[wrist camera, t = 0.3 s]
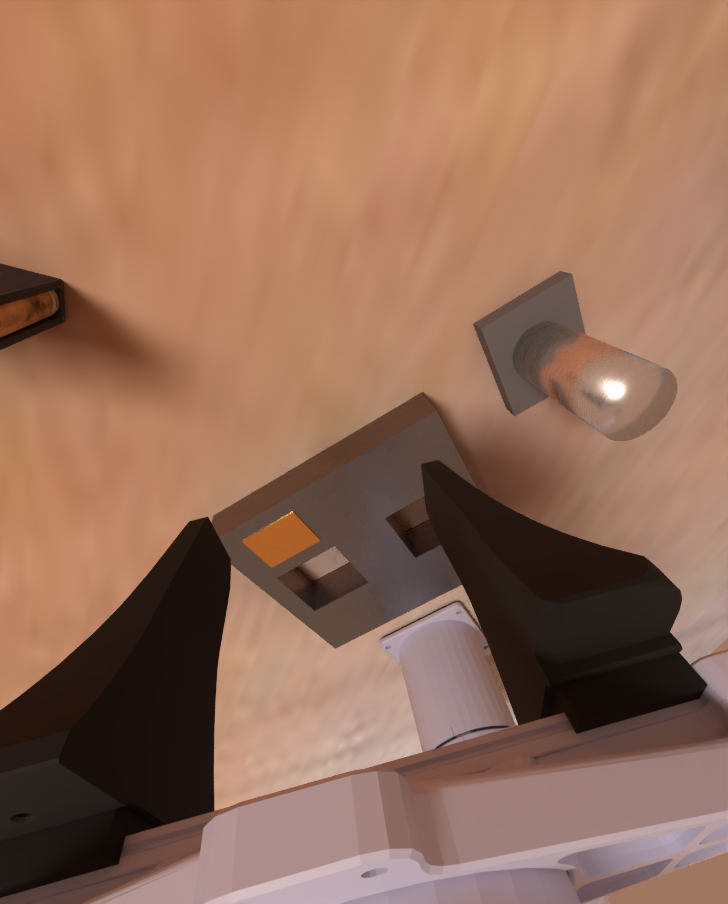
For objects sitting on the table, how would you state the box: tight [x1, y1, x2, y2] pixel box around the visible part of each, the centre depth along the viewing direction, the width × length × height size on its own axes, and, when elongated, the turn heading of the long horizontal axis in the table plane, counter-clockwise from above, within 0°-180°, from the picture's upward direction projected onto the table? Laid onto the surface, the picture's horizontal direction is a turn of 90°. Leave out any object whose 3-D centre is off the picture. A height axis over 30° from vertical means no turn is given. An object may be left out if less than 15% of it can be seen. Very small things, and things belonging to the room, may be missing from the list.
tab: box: [473, 271, 585, 416], centre depth 22 cm, size 6×5×1 cm
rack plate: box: [212, 392, 477, 648], centre depth 26 cm, size 14×15×3 cm
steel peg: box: [513, 321, 677, 441], centre depth 18 cm, size 3×3×7 cm
